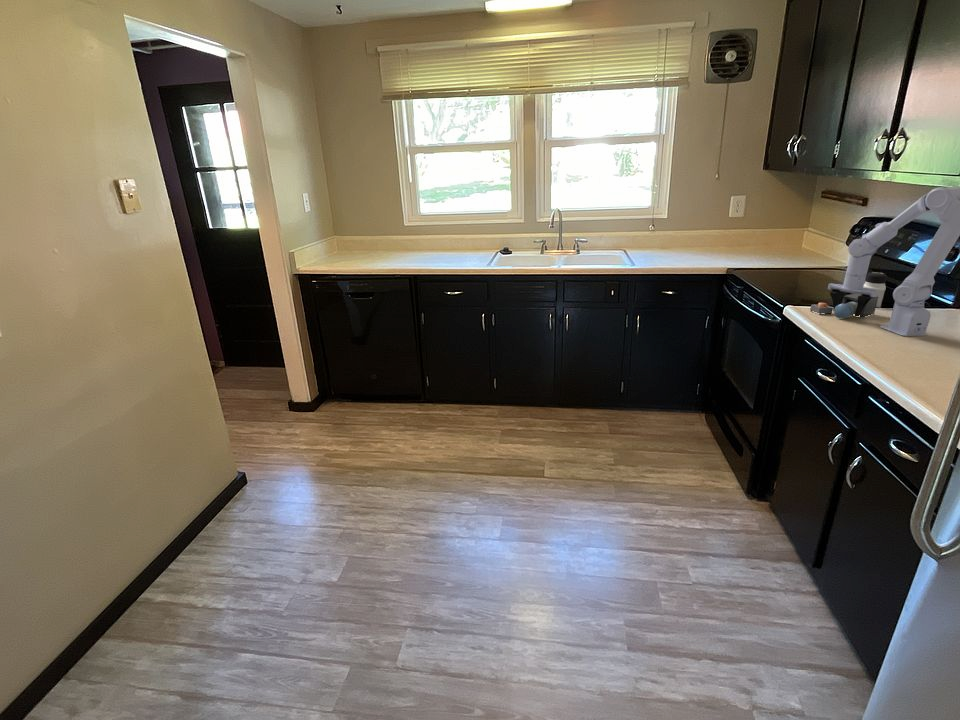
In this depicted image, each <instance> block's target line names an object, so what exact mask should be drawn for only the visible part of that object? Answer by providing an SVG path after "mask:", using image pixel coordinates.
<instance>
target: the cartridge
mask: <svg viewBox="0 0 960 720" xmlns="http://www.w3.org/2000/svg"><path fill="white" fill-rule="evenodd" d="M857 303H858V301H852V302H849V303H846V304H842V303H840V304H839V305H837V306H836V307H835V309H834V311H833V313H834V315H835V317H837V318H838V319H847V318H849V317H851V316H850V315H853V314H855V312H856V308H857Z"/></svg>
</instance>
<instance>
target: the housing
mask: <svg viewBox="0 0 960 720" xmlns="http://www.w3.org/2000/svg"><path fill="white" fill-rule="evenodd" d="M858 296H862V295H860V294H855V293H849V294H846V295H843V296H842V300H841V304H846V303H849V302H852V301H858ZM878 298H879V297H872V299H871V300H870V301H869V302H868V303H867V304H866V305H865V307H864V308H863V310H862V312H861V313H860V317H865V316H868V315H870V316H872V315H871V314H873V315H875V312H876V308H877V307H876V305H877V301H878ZM868 317H869V316H868ZM865 318H866V317H865Z"/></svg>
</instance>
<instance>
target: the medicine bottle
mask: <svg viewBox="0 0 960 720" xmlns="http://www.w3.org/2000/svg"><path fill="white" fill-rule="evenodd" d="M887 278H888V275H886V273H883V272H867V274H866V278H865V282H864V286H863V288H867V289H871V290H875V291H878V294H877V297H879V298H878V301H877V305H876V308H879V309H880V308H881V307H882V304H883V301H884V297H885V294H886V287H887V286H886V281H887Z"/></svg>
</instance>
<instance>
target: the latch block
mask: <svg viewBox="0 0 960 720" xmlns="http://www.w3.org/2000/svg"><path fill="white" fill-rule="evenodd" d="M810 310H812V311H814V312H817V313H832V314H833V306H830V305H827V306H826V307H818V304H810ZM810 310H809V311H810ZM814 312H813V313H814Z"/></svg>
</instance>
